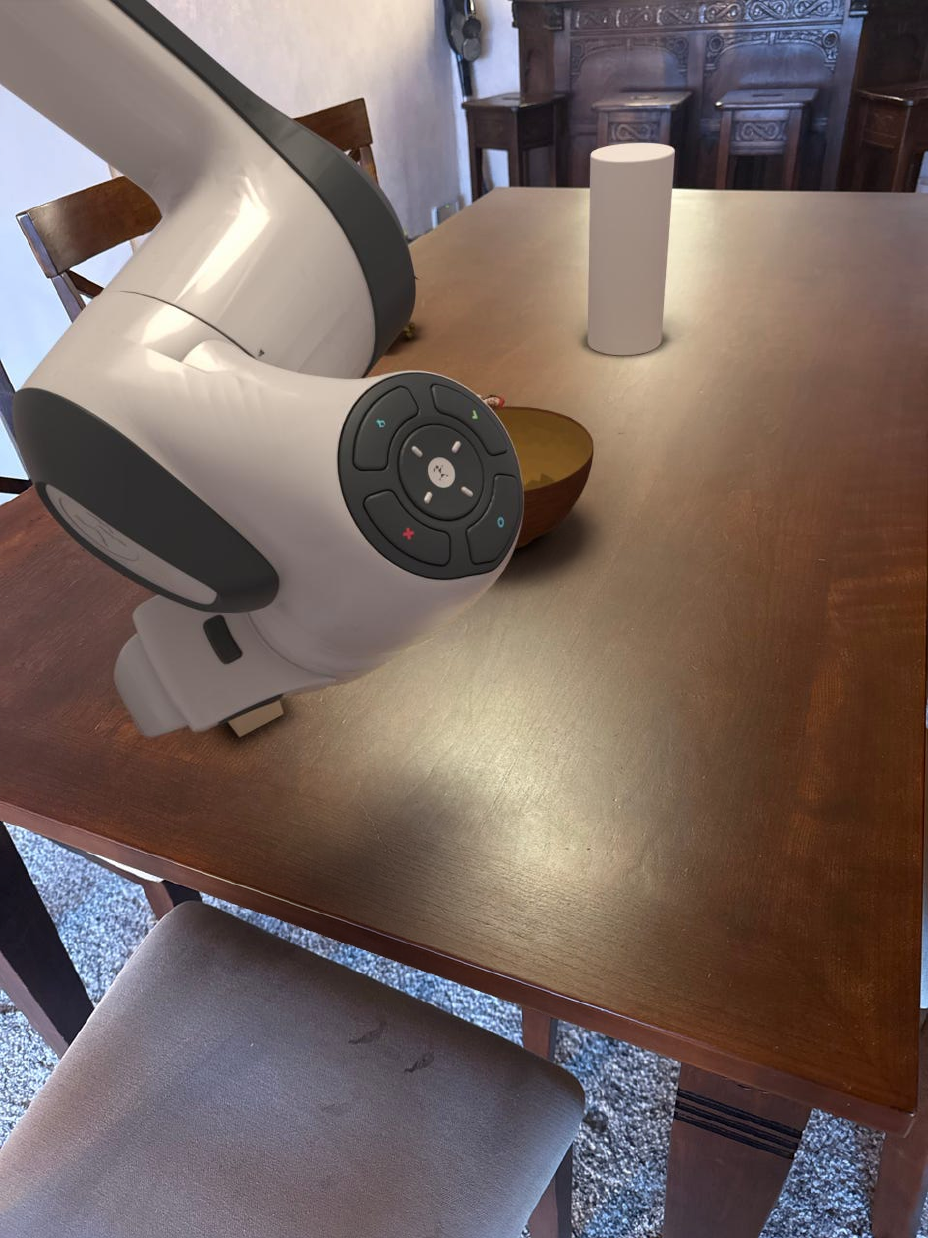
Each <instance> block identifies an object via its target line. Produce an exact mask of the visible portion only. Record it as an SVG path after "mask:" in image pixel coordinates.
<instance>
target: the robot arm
mask: <svg viewBox="0 0 928 1238" xmlns="http://www.w3.org/2000/svg"><path fill="white" fill-rule="evenodd" d="M0 85H1V86H2V87H3V88H4V89H6V90H7V91H9V92H10V93H11V94H13V95H14V96H15V97H17V98H18V99H20V100H21V101H22V102H24V103H25V104H26V105H28V106H29V107H31V108H32V109H33V110H34V111H35V112H37V113H39V114H40V115H42V117H44V118H45V119H47V120H48V121H49V122H51V123H52V124H53V125H55V126H56V127H58V129H60V130H62V131H63V132H64V133H66V134H67V135H68V136H70V137H71V138H72V139H73V140H75V141H76V142H78V143H79V144H80V145H82V146H83V147H84V148H85V149H87V150H89V151H90V152H91V153H93V154H94V155H95V156H96V157H98V158H99V159H100V160H102V161H103V162H105V163H106V164H108V165H109V166H110V167H112V168H113V169H114V170H116V171H117V172H118V173H120V174H121V175H122V176H124V177H126V179H128V180H129V181H130V182H132V183H134V184H135V185H136V186H137V187H139V188H140V189H141V190H142V191H144V192H145V193H146V194H147V195H148V196H149V197H150V198H151V199H152V200H153V202H154V203H155V205H156V206H157V208H158V210H159V213H160V215H161V219H160V221H159V222H158V223H157V224H156V226H155V227H154V228H153V229H152V231H150V232H149V234H148V235H147V237H146V238H145V239H144V240H143V241H142V243H140V245H139V246H138V247H137V249H136V250H135V251H134V252H133V253H132V255H131V256H130V257H129V258H128V259H127V260H126V262H125V263H124V265H123V266H121V268H120V269H119V270H118V271H117V272H116V274H115V275H114V277H112V279H111V280H110V281H109V282H108V284H107V285H106V286H105V287H104V288H103V289H102V291H101V292H100V294H97V295H96V296H94V297H93V298H92V299H90V301H89V302H88V303H87V304H86V306H85V307H83V309H82V311H80V313H79V314H78V315H77V317H76V318H75V319H74V321H72V323H71V324H70V325H69V326H68V327H67V328H66V330H65V331H64V332H63V333H62V335H61V336H60V337H59V339H58V340H57V341H56V342H55V344H54V345H53V346H52V348H51V349H50V350H49V351H48V352H47V354H46V355H45V356H44V357H43V358H42V359H41V361H40V362H39V364H37V366H36V367H35V368H34V369H33V371H32V372H31V373H30V375H29V376H28V377H27V379H26V380H25V381H24V382H23V384H22V386H21V387H20V388H19V389H18V390H16V391H15V392H14V394H13V396H12V409H11V410H12V411H11V412H12V413H11V414H12V425H13V429H14V436H15V439H16V440H15V441H16V444H17V446H18V450H19V453H20V455H21V458H22V461H23V463H24V466H25V469H26V471H27V474H28V476H29V478H30V480H31V483H32V485H33V487H34V489H35V491H36V494H37V495H38V497H39V499H40V501H41V503H42V504H43V505H44V507H45V508H46V510H47V512H49V514H50V515H51V516H52V517H53V518H54V519H55V521H56V522H57V524H59V526H60V527H61V528H62V529H63V530H64V531H65V532H66V533H67V534H68V535H69V536H70V537H71V538H72V539H73V540H74V541H76V543H78V544H79V545H80V546H81V547H82V548H83V549H85V551H87V552H89V554H91V556H93V557H95V558H96V559H98V560H99V561H100V562H102V563H104V564H105V565H107V567H109V568H111V569H113V570H114V571H115V572H117V573H119V574H120V575H122V576H123V577H125V578H127V579H129V580H130V581H132V582H133V583H135V584H137V585H139V586H140V587H143V588H144V589H146V590H148V591H150V592H152V593H154V594H156V595H154V596H152V597H151V598H149V599H147V600H145V601H144V602H142V603H141V604H139V605H138V606H137V607H136V608H135V609H134V611H133V612H132V615H131V618H132V619H131V620H132V621H133V624H134V627H135V630H136V633H135V634H133V635H132V636H131V637H130V638H129V639H128V640H127V641H126V643H124V645H123V646H122V648H121V650H120V651H119V653H118V656H117V659H116V661H115V665H114V669H113V683H114V685H115V688H116V691H117V693H118V695H119V696H120V700H121V701H122V703H123V704H124V707H125V709H126V710H127V713H128V714H129V716H130V718H131V720H132V721H133V723H134V725H135V727H136V728H137V730H138V731H139V733H140V734H141V735H142V736H143V737H144V738H147V739H153V738H156V737H160V736H164V735H166V734H169V733H172V732H175V731H178V730H181V729H184V728H186V727H188V728H189V729H190V730H191V731H192V732H194V733H204V732H206V731H208V730H210V729H212V728H214V727H216V726H218V725H219V726H221V725H225V724H226V723H228V721H231V720H233V719H235V718H237V717H239V716H242V715H244V714H246V713H248V712H251V711H253V710H255V709H258V708H261V707H263V706H266V705H269V704H272V703H274V702H276V701H278V700H280V701H281V700H283V699H286V698H291V697H295V696H299V695H306V694H309V693H315V692H319V691H323V690H326V689H328V688H329V687H337V686H341V685H347V684H349V683H352V682H356V681H357V680H360V679H362V678H364V677H366V676H368V675H369V674H371V673H373V672H375V671H376V670H377V669H380V668H381V667H383V666H385V665H386V664H387V663H390V662H391V661H393V660H395V659H396V658H397V657H399V656H400V655H402V654H404V652H406V651H407V650H408V649H409V648H411V647H415V646H416V645H419V644H420V643H423V642H425V641H427V640H428V639H429V638H431V637H433V636H434V635H436V634H438V633H440V632H441V631H442V630H444V629H445V628H446V627H448V626H449V625H451V624H452V623H453V622H455V621H456V620H457V619H458V618H459V617H461V616H462V615H463V614H464V613H465V612H467V611H468V610H469V609H470V608H471V607H472V606H473V605H474V604H475V603H476V602H478V601H479V600H480V599H481V598H482V596H483V595H484V594H486V593H487V592H488V590H489V589H490V588H491V587H492V586H493V585H494V584H495V583H496V581H497V580H498V578H499V577H500V575H501V574H503V572H504V570H505V569H506V567H507V565H508V563H509V562H510V560H511V558H512V556H513V553H514V551H515V549H514V548H515V546H516V543H517V540H518V537H519V533H520V529H521V525H522V519H523V511H524V490H523V481H522V475H521V470H520V465H519V461H518V457H517V454H516V451H515V448H514V446H513V443H512V441H511V439H510V437H509V434H508V433H507V431H506V429H505V427H504V425H503V424H502V422H501V421H500V419H499V418H498V416H497V415H496V414H495V413H494V411H493V410H492V409H491V408H490V407H489V406H488V405H487V404H486V403H485V402H484V400H482V399H481V398H480V397H479V396H478V395H479V394H477V393H476V392H474V391H473V390H472V389H470V388H469V387H467V386H466V385H464V384H462V383H461V382H459V381H457V380H455V379H452V378H450V377H448V376H446V375H443V374H440V373H436V372H432V371H425V370H399V371H393V372H389V373H383V374H380V375H376V376H370V377H367V376H368V375H369V374H370V372H371V371H372V370H373V369H374V367H375V366H376V365H377V364H378V362H379V361H380V360H381V358H382V357H383V356H384V355H385V353H386V352H387V351H388V350H389V349H390V347H391V346H392V345H393V343H394V342H395V341H396V340H397V339H398V337H399V336H400V334H402V332H403V329H404V328H405V327H407V325H409V322H410V320H411V318H412V315H413V312H414V309H415V305H416V297H417V296H416V295H417V287H416V286H417V285H416V279H415V276H416V275H415V270H414V264H413V260H412V255H411V251H410V248H409V244H408V241H407V238H406V234H405V231H404V229H403V226H402V223H401V221H400V219H399V216H398V214H397V213H396V210H395V208H394V206H393V205H392V203H391V201H390V199H389V198H388V196H387V195H386V193H385V191H384V190H383V189H382V188H381V186H380V185H379V183H378V182H377V181H376V180H375V179H374V178H373V177H372V175H370V173H368V172H367V170H366V169H365V168H363V166H361V165H360V164H359V162H357V161H355V160H354V158H352V157H351V156H349V155H348V154H347V153H345V152H344V151H343V150H342V149H340V148H339V147H337V146H336V145H334V144H333V143H331V142H330V141H328V140H327V139H325V138H324V137H322V136H320V135H319V134H317V133H316V132H314V131H313V130H311V129H309V128H308V127H306V126H304V124H302V123H300V122H298V121H297V120H295V119H293V118H291V117H290V116H289V115H287V114H286V113H284V112H283V111H281V110H279V109H278V108H276V107H275V106H273V105H272V104H270V103H269V102H267V101H266V100H265V99H263V98H262V97H260V95H258V94H257V93H255V92H254V91H253V90H252V89H250V88H249V87H247V86H246V85H245V84H244V83H243V82H241V80H239V79H238V78H236V76H235V75H233V74H232V73H231V72H230V71H229V70H227V69H226V68H225V67H223V65H222V64H220V63H219V62H218V61H217V60H216V59H215V58H213V57H212V56H211V55H210V54H209V53H207V52H206V50H204V49H203V48H202V47H201V46H200V45H198V44H197V43H196V42H195V41H194V40H193V39H191V38H190V36H188V35H187V34H186V33H185V32H184V31H182V30H181V29H180V27H178V26H176V25H175V23H173V22H172V21H171V20H169V18H167V17H166V16H165V15H164V14H163V13H162V12H160V11H159V10H158V9H157V8H156V7H155V6H154V5H152V3H150V2H149V1H148V0H0Z"/></svg>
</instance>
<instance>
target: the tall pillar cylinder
mask: <svg viewBox="0 0 928 1238" xmlns="http://www.w3.org/2000/svg"><path fill="white" fill-rule="evenodd" d="M675 153H676V150H675V148H674V147H672V146H670V145H667V144H663V143H657V142H656V143H655V142H654V143H653V142H628V143H619V144H612V145H611V144H610V145H607V146H603V147H600V148H597V149H595V150H592V152H591V153H590V157H589V158H590V160H589V161H590V163H589V219H588V220H589V221H588V223H589V225H588V226H589V227H588V282H587V283H588V286H587V287H588V288H587V289H588V293H587V295H588V296H587V298H588V299H587V345H588V346H589V348H590V349H592V350H594V351H596V352H598V353H601V354H604V355H612V356H634V355H635V356H636V355H640V354H646V353H649V352H651V351H654V350H656V349H657V348H658V347H659V346H661V344H662V340H663V339H662V338H663V327H664V311H665V310H664V309H665V297H666V282H667V270H668V269H667V267H668V253H669V241H670V240H669V239H670V227H671V212H672V211H671V210H672V196H673V185H674V183H673V182H674V170H675Z"/></svg>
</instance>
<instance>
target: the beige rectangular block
mask: <svg viewBox="0 0 928 1238" xmlns="http://www.w3.org/2000/svg"><path fill="white" fill-rule="evenodd" d="M283 715H284V711H283V707H282V703H281V699H280V700H278V701H276V702H274V703H272V704H269V705H266V706H263V707H261V708H258V709H255V710H253V711H251V712H248V713H246V714H244V715H242V716H239V717H237V718H235V719H233V720H231V721H228V722H227V723H228V724H229V726H230V727H231V728H232V730H234V732H235V733H236V735H237V736H238V738H241V737H243V736H245V735H248V734H249V733H251V732H252V731H255V730H256V729H258V728H260V727H262V726H263V725H266V724H268V723H269V722H272V721H273V720H275V719H277V718H279V717H281V716H283Z"/></svg>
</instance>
